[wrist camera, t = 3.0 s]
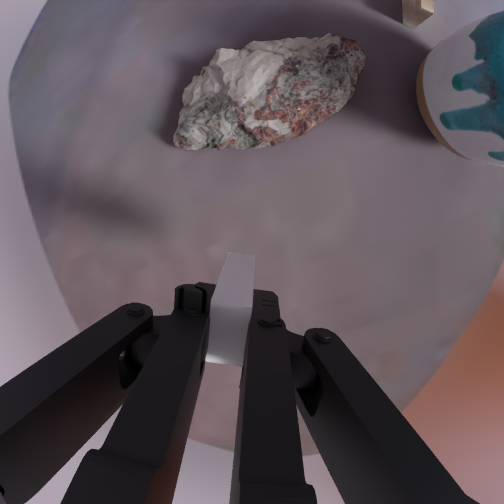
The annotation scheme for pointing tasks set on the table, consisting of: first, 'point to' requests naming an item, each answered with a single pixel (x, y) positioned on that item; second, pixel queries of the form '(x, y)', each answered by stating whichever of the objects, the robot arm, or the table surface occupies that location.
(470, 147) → the vase
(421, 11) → the u-shaped wooden frame
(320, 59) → the mineral rock
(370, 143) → the table surface
